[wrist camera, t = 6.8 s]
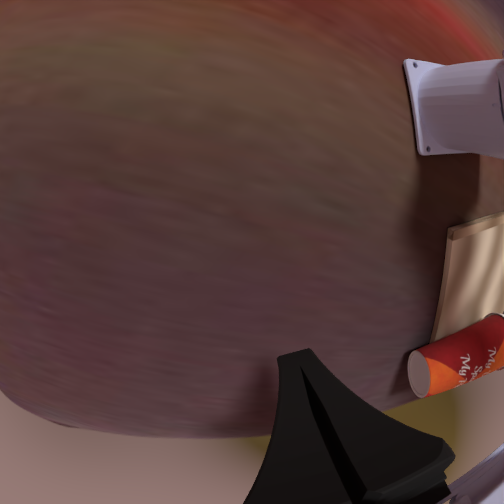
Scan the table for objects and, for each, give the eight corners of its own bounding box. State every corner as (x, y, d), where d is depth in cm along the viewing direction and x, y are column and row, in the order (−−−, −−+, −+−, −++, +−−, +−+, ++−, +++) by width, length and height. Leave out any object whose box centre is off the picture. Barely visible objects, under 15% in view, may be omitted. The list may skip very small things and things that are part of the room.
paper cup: (443, 392, 18) (528, 346, 18) (418, 326, 24) (502, 297, 23) (414, 415, 23) (496, 376, 23) (397, 360, 29) (477, 332, 28)
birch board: (520, 205, 22) (525, 207, 21) (496, 320, 29) (499, 323, 28) (447, 227, 21) (453, 230, 21) (423, 363, 28) (427, 367, 28)
